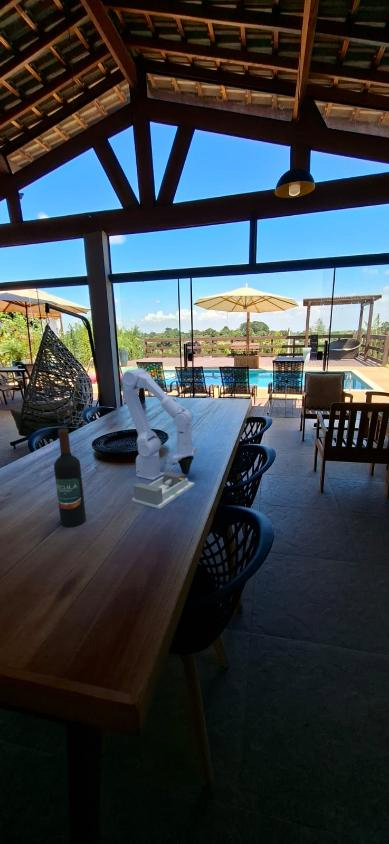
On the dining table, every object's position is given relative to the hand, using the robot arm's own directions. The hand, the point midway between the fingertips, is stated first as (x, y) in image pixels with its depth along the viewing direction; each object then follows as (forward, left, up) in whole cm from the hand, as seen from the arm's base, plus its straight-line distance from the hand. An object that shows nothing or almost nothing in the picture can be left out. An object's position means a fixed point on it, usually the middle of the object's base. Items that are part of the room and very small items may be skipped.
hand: (185, 474), depth 145 cm
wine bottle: (-13, -45, -3) cm, 47 cm away
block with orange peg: (+1, -9, -1) cm, 10 cm away
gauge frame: (0, -14, -2) cm, 14 cm away
